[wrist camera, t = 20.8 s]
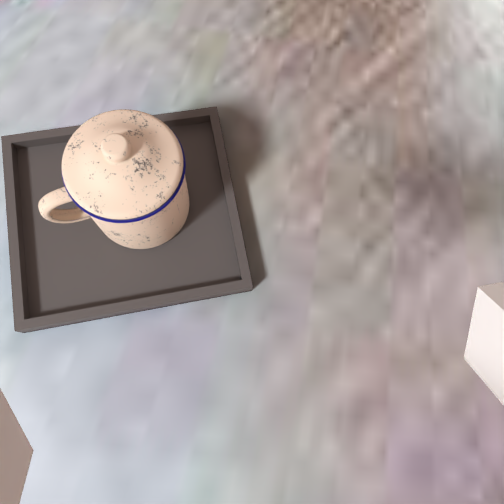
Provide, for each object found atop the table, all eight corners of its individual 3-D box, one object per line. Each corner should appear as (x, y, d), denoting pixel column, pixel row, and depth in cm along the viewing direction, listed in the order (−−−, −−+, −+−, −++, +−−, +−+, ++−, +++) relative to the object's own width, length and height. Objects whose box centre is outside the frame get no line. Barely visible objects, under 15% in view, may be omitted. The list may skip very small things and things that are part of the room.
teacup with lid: (173, 148, 44) (156, 70, 33) (206, 232, 42) (201, 180, 31) (49, 189, 42) (-14, 121, 31) (78, 279, 40) (22, 242, 29)
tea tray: (216, 116, 46) (216, 106, 44) (251, 290, 41) (252, 287, 40) (10, 145, 43) (1, 136, 42) (23, 332, 39) (14, 331, 37)
